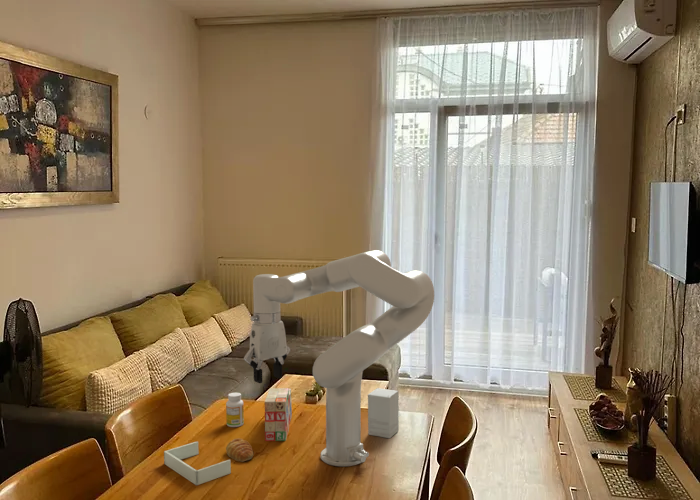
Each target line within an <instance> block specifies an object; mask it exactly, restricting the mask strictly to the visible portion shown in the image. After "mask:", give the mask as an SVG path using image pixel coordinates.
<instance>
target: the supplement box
mask: <svg viewBox="0 0 700 500" xmlns="http://www.w3.org/2000/svg"><path fill="white" fill-rule="evenodd" d="M399 408H400V407H399V390H394V389H387V388H380V387H376V389H374V390H372V391H371V392H369V393H368V394H367V427H368V428H367V430H368V431H367V432H368V433H367V434H368V435H369V436H374V437H379V438H386V439H391V438H392V437H393V436H394V435H395V434H397V433H398V432H399V429H400V426H399V425H400V424H399V423H400V422H399V421H400V420H399V419H400V418H399V417H400V416H399V410H400V409H399Z"/></svg>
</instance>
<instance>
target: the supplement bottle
mask: <svg viewBox="0 0 700 500" xmlns="http://www.w3.org/2000/svg"><path fill="white" fill-rule="evenodd" d="M227 395H228V396H227V398H228V400H227V401H226V403H225V409H226V410H225V413H226V414H225V416H226V417H225V418H226V425H227V427H230V428H238V427H241V426H243V425H244V423H245V419H244V418H245V417H244V416H245V415H244V413H245V412H244V407H245V406H244V400H243V399H242V394H241V393H240V392H231V393H230V392H229V393H228V394H227Z"/></svg>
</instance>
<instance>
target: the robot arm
mask: <svg viewBox="0 0 700 500" xmlns="http://www.w3.org/2000/svg"><path fill="white" fill-rule="evenodd" d="M252 285H253V287H252V288H253V289H252V290H253V294H252V295H253V296H252V297H253V315H252V316H250V321H251V322H253V323H251V330H250V334H249V335H250V336H249V350H247V352H246V354H245V355H244V357H243V360H244V361H245V362H246V363H248V365H249V366H250V367H251V368H252V371H253V381H254V382H255V383H256V384H257V383H258V384H262V383H263V369H261V367H262V363H263V361H265V360H271V359H273V360H274V362H273V365H272V366H273V376H274V377H275V378H278V379H283V365H284V363H285V360H286V358H287V357H288V355H289V353H291V348H290V346H288V345H287V337H286V336H287V335H286V328H285V324H284V322H283V321H282V320H281V304H286V305H287V304H291V303H295V302H297V301H300V300H303V299H305V298H308V297H313V296H316V295H320V294H325V293H328V292H335V293H340V292H344V291H348V290H351V289H356V288H359V287H360V288H361V289H363V290H365V291H366V292H368V293H369V294H371V295H373V296H375V297H377V298H378V299H380V300H382V301H383V302H385V303H387V304H388V305H390V306H391V307H390V308H389V309H387V310H386V311H385V312H383V313H382V314H381V315H380V316H378V317H376V318H375V319H373V320H372V321H370V322H369V323H367V324H364V325H363V326H360V327H358V328H357V329H355V330H353V331H351V332H350V333H349V334H347V335H346V336H344V337H343V338H341V339H339V340H338V341H337V342H336V343H335V344H334V345H332V346H331V347H329V348H328V349H327V350H325V351H324V352H322V353H321V354H319V356H317V358H316V359H315V361H314V363H313V366H312V377H313V379H314V381H315V382H316V383H317V384H318V386H320V387H322V388H325V389H326V390H325V439H326V440H325V446H326V447H325V448H324V449H323V450H321V452H320V460H321V461H323V462H324V463H325V464H327V465H329V466H333V467H334V466H335V467H351V466H352V467H353V466H356V465H359V464H361V463H365V462H366V460H367V458H368V457H369V455H370V453H369V452H368V451H366V450H365V449H364V443H362V442H361V441H362V440H361V438H362V437H361V436H362V435H361V433H362V430H361V429H362V427H361V423H362V422H361V411H362V410H361V406H362V405H361V402H362V397H361V396H362V381H363V380H362V379H363V373H364V370H366V369H367V368H368V367H370V366H372V365H373V364H374V363H376V362H377V361H378V360H380V359H381V358H382V357H383V356H384V355H385V354H386V353H387V352H388V351H390V350H391V349H392V348H394V347H395V346H396V345H398V344H399V343H400V342H402V341H403V340H404V339H406V338H407V337H408V336H409V335H411V334H412V333H414V332H415V331H416V330H417V329H418V328H420V327H421V325H422V324H424V322H425V321H426V319H427V318H428V317H429V316H430V313H431V311H432V309H433V306H434V302H435V301H434V300H435V287H434V283H433V281H432V279H431V277H430V276H429V275H428V274H427V273H425V272H424V271H421V270H415V269H414V270H410V271H409V270H408V271H406V272H404V273H403V272H400V271H399V270H397V269H395V268H393V267H392V263H391V260H390V258H389V256H388V255H387V254H386V252H383V251H381V250H378V249H373V250H369V251H365V252H360V253H357V254H354V255H350V256H347V257H343V258H339V259H336V260H331V261H329V262H327V263H326V264H325V265H321V266H318V267H315V268H312V269H307V270H303V271H300V272H295V273H292V274H287V275H284V276H279V275H277V274H273V273H263V274H262V273H261V274H258V275H257V274H256V275H255V277H253V281H252ZM252 358H253V359H252Z"/></svg>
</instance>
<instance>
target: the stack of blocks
mask: <svg viewBox="0 0 700 500" xmlns="http://www.w3.org/2000/svg"><path fill="white" fill-rule="evenodd" d="M292 405H293V404H292V388H288V387H287V388H286V387H282V388H281V387H279V388H275V387H273V388H269V389H268V392H267V395H266V397H265V400H264V426H265V427H264V441H265V442H286V441H287V437H288V435H289V429H290V424H291V420H292V412H293V411H292V408H293V407H292Z"/></svg>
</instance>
